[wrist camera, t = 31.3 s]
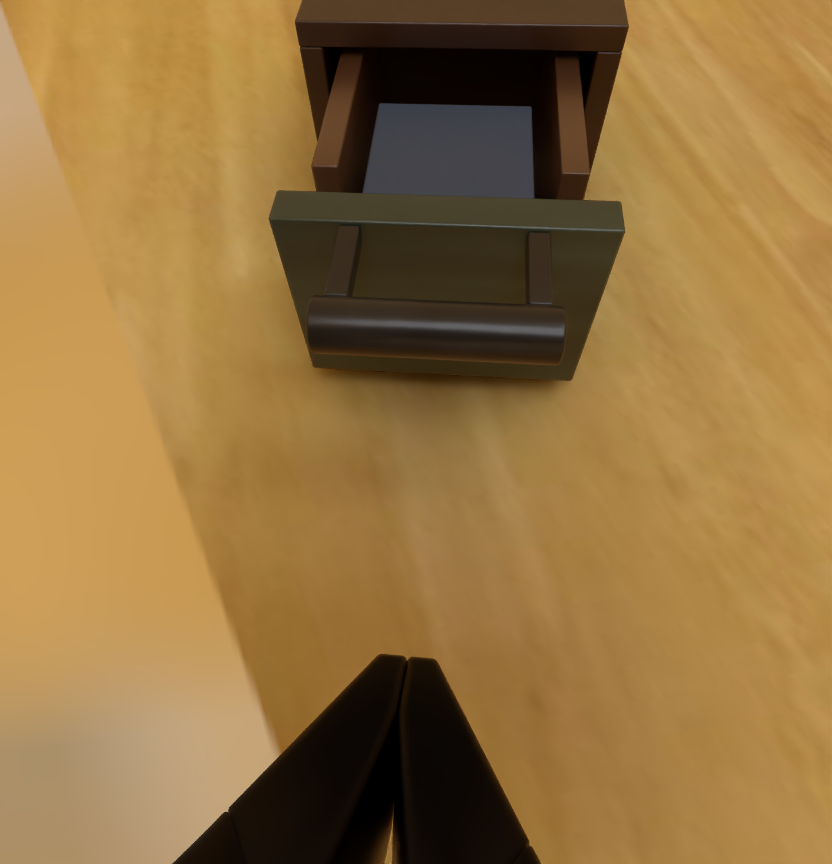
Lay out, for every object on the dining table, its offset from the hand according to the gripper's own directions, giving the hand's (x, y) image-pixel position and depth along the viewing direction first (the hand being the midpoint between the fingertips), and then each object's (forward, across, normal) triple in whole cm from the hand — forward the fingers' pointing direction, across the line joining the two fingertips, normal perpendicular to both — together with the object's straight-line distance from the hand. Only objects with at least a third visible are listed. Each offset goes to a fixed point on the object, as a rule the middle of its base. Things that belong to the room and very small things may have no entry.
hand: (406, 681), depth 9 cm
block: (+16, 0, -6) cm, 17 cm away
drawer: (+17, 0, -5) cm, 18 cm away
